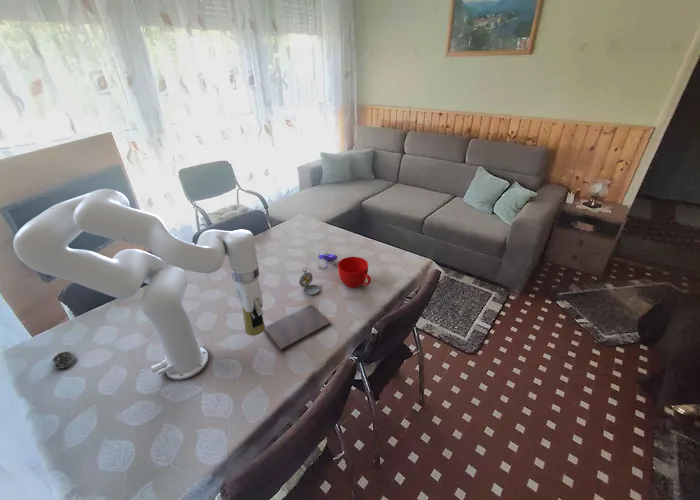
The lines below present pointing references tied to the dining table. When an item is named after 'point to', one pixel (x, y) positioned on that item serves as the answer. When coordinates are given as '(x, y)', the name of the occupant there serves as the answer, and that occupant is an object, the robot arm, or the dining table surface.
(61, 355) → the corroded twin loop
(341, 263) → the ceramic cup
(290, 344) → the serving board
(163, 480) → the dining table surface
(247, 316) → the vase
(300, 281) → the pocket watch
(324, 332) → the dining table surface
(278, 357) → the dining table surface
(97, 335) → the dining table surface
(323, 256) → the game controller
